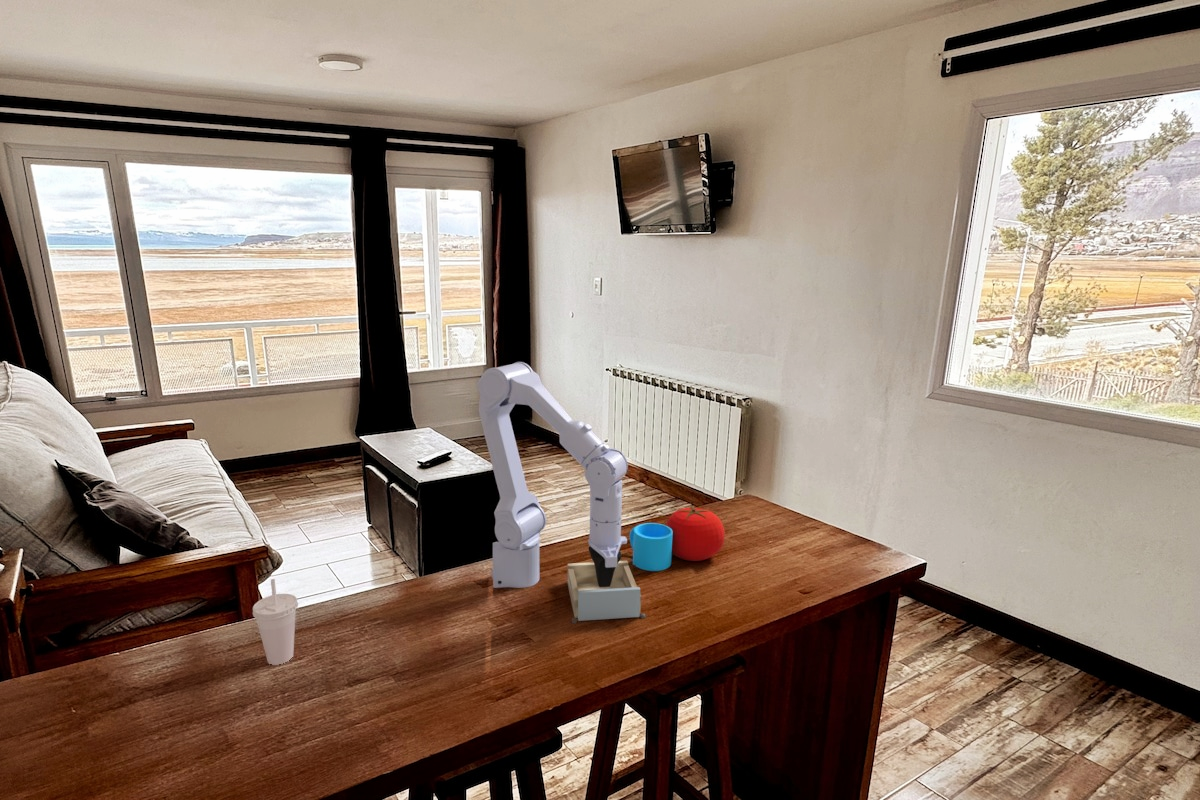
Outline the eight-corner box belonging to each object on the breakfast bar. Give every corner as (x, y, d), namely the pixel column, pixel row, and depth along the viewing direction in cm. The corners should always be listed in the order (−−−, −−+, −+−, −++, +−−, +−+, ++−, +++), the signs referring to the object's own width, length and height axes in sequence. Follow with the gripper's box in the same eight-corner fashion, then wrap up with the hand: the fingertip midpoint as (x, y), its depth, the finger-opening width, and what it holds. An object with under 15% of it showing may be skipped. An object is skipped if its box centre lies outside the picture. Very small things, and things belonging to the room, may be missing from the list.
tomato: (654, 548, 143) (656, 503, 141) (704, 540, 148) (707, 496, 146) (679, 572, 132) (682, 523, 130) (733, 563, 137) (736, 515, 135)
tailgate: (578, 620, 112) (578, 592, 110) (577, 618, 112) (578, 590, 111) (639, 616, 113) (640, 589, 112) (638, 614, 114) (639, 587, 113)
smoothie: (257, 675, 97) (248, 592, 94) (258, 652, 103) (249, 573, 100) (303, 663, 100) (296, 583, 97) (301, 642, 106) (294, 565, 103)
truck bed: (572, 628, 112) (572, 602, 110) (564, 586, 126) (564, 563, 125) (645, 623, 114) (646, 597, 112) (629, 583, 128) (630, 560, 127)
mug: (678, 569, 134) (680, 533, 132) (648, 579, 130) (649, 542, 128) (644, 548, 144) (646, 514, 142) (615, 556, 139) (616, 521, 138)
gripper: (635, 532, 108) (632, 604, 111) (620, 501, 123) (618, 565, 125) (594, 534, 107) (593, 606, 110) (583, 502, 121) (582, 567, 124)
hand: (604, 585), depth 118 cm, fingers closed
